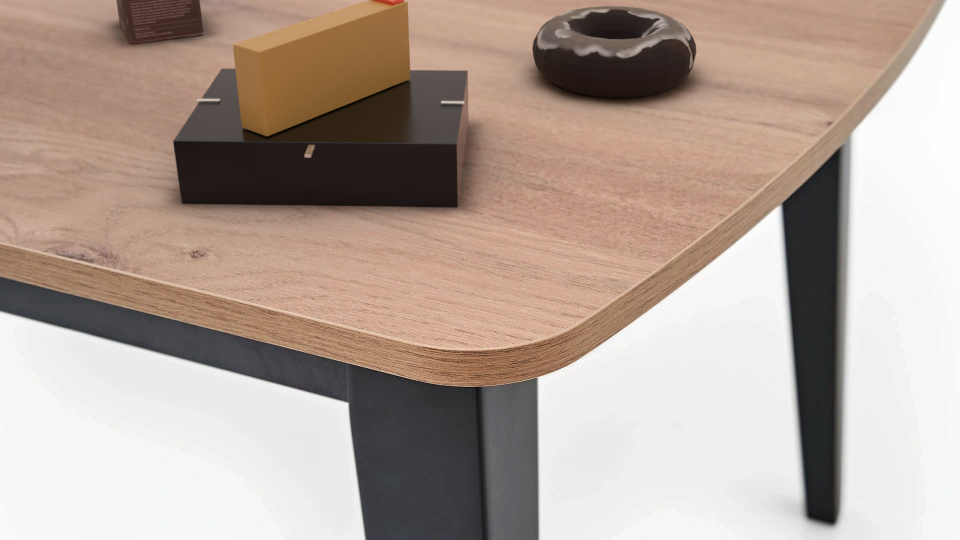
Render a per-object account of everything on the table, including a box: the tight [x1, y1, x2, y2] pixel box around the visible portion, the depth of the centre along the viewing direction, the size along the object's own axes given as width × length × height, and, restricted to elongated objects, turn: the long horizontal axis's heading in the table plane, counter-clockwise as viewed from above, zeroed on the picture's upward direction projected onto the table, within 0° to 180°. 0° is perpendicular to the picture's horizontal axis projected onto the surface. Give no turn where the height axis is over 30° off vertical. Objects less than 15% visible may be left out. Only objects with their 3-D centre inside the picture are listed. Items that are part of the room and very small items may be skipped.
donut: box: [531, 5, 697, 99], centre depth 87 cm, size 12×12×4 cm
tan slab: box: [232, 0, 411, 136], centre depth 72 cm, size 12×2×5 cm, turn 140°
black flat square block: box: [172, 68, 469, 208], centre depth 74 cm, size 16×16×4 cm
